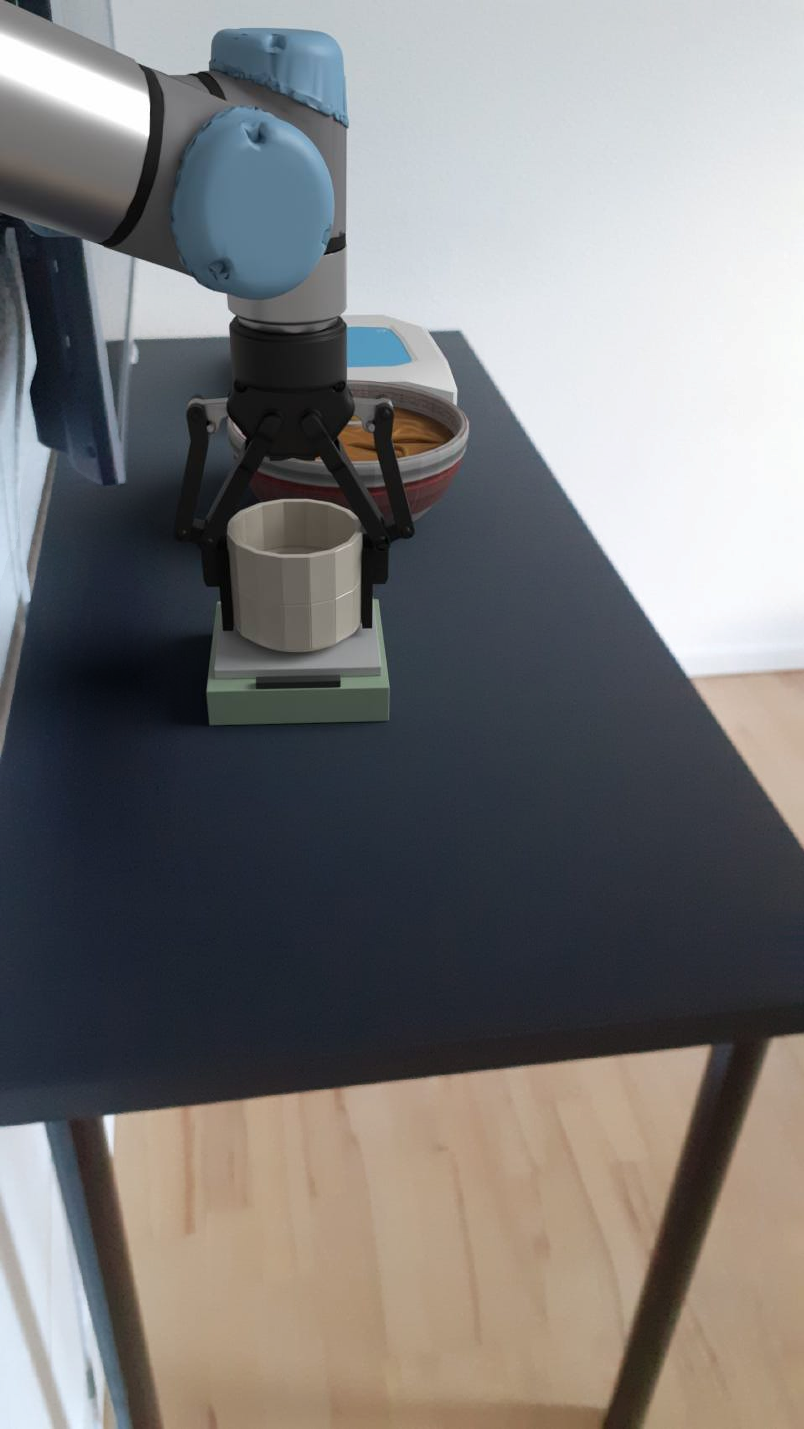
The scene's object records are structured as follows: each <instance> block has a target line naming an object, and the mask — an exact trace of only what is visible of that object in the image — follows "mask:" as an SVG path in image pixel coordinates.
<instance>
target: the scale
mask: <svg viewBox="0 0 804 1429" xmlns="http://www.w3.org/2000/svg"><path fill="white" fill-rule="evenodd" d="M380 610H381V609H380V602H379V599H378V598H373V617H372V628H371V629H362V622H361V624H360V625H359V627H358V628H357V629H356V631H355V632H354V634H352V635H350V636H348V637H347V638H345V639H343V640H341V641H340V642H338V643H336V644H334V645H332V646H329V647H327V648H323V649H320V650H315V651H308V652H285V651H278V650H273V649H269V648H266V647H263V646H261V645H259V644H257V643H255V642H253V641H251V640H249V639H247V638H245V637H243V636H242V635H241V634H240V632H239V631H238V630H237V628H236V627H235V626H234V627H233V631H223V626H222V613H221V601H217V602H216V607H215V613H214V614H215V615H214V624H213V632H212V638H211V639H212V640H211V648H210V656H209V665H208V675H207V681H206V689H205V693H206V703H207V714H208V715H207V716H208V725H209V726H237V725H238V726H241V725H242V726H243V725H244V726H245V725H277V724H278V725H279V724H280V725H281V724H283V725H284V724H321V723H322V724H323V723H324V724H325V723H326V724H327V723H361V722H362V723H364V722H365V723H366V722H389V720H390V694H391V693H390V689H391V688H390V687H391V686H390V680H389V671H388V664H387V657H386V648H385V641H384V634H383V633H384V632H383V624H382V617H381V611H380Z"/></svg>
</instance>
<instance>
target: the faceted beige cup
mask: <svg viewBox="0 0 804 1429" xmlns="http://www.w3.org/2000/svg"><path fill="white" fill-rule="evenodd" d="M225 535H227V548H228V560H229V574H230V588H231V601H232V615H233V624H234V626H235V627H236V628H237V630H238V631H239V632H240V634H241V635H242V636H243V637H245V638H247V639H249V640H251V641H253V642H255V643H257V644H259V645H261V646H263V647H266V648H269V649H273V650H278V651H285V652H308V651H315V650H320V649H323V648H327V647H329V646H332V645H334V644H336V643H338V642H340V641H341V640H343V639H345V638H347V637H348V636H350V635H352V634H354V632H355V631H356V629H357V628H358V627H359V625H360V624H361V622H362V549H363V530H362V524H361V522H360V520H359V519H358V517H357V516H356V515H355V514H354V513H353V512H352V511H351V510H348V509H346V508H343V507H341V506H338V505H336V504H333V503H330V502H324V501H318V500H311V499H280V500H274V501H269V502H263V503H262V502H258V503H255V504H254V505H250V506H248V507H245V508H244V509H241V510H238V512H237V513H236V514H234V515H233V516H232V517H231V519H230V521H229V523H228V525H227V526H226V534H225Z"/></svg>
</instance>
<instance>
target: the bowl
mask: <svg viewBox="0 0 804 1429" xmlns="http://www.w3.org/2000/svg"><path fill="white" fill-rule="evenodd" d="M347 385H348V388H349V390H350V392H351V393H352V395H353V397H355V398H367V399H375V398H376V397H377V396H378V395H380V394H385V395H388V396H389V397H390V399H391V402H392V406H393V411H394V421H393V430H392V441H393V445H394V449H395V453H396V457H397V460H398V464H399V468H400V472H401V476H402V480H403V484H404V488H405V492H406V495H407V499H408V503H409V507H410V511H411V515H412V520H413V522H415V521H417V520H418V519H420V518H422V517H423V516H424V515H425V514H426V513H427V512H428V511H429V510H430V509H431V508H432V507H433V506H434V505H435V504H436V503H437V502H438V501H439V500H441V498H443V496H444V494H445V492H447V490H448V489H449V487H450V485H451V484H452V482H453V481H454V480H455V477H456V475H457V474H458V471H459V469H460V466H461V464H462V462H463V456H464V455H465V453H466V451H467V445H468V440H469V433H470V421H469V419H468V418H467V416H466V414H465V412H464V411H463V410H461V408H459V407H458V405H457V406H456V405H455V404H453V403H451V402H450V401H448V400H446V399H444V398H443V397H440V396H438V395H435V394H432V393H430V392H427V391H424V390H420V389H416V388H413V387H409V386H403V385H398V384H392V383H385V382H376V381H365V380H347ZM226 429H227V436H228V441H229V448H230V450H231V451H232V454H233V458H234V461H235V460H236V459H237V457H238V455H239V453H240V450H241V447H242V445H243V443H244V441H245V439H246V437H245V436H244V435H243V433H242V432H241V431H240V430H239V429H238V427H237V426H236V425H235V424H234V422H233V421H232V420H231V419H230V417H226ZM338 438H339V439H340V441H341V443H342V445H343V447H344V450H345V452H346V454H347V455H348V457H349V459H350V461H351V462H352V464H353V466H354V467H355V469H356V471H357V473H358V474H359V476H360V478H361V480H362V481H363V483H364V485H365V486H366V488H367V490H368V492H369V493H370V495H371V497H372V498H373V500H374V502H375V504H376V505H377V507H378V509H379V511H380V512H381V514H382V516H383V517H384V519H385V518H388V517H391V516H393V513H392V509H391V505H390V501H389V498H388V494H387V490H386V486H385V483H384V479H383V475H382V472H381V468H380V464H379V460H378V457H377V453H376V449H375V443H374V437H373V433H368V432H366V431H365V430H364V429H363V427H362V422H361V420H360V419H359V418H357V417H355V416H353V417H352V418H351V420H350V421H349V422H348V424H347V425H346V426H345V428H344V429H343V430H342V432H341V433H340V435H339V436H338ZM248 487H249V488H250V490H251V491H252V493H253V494H254V496H255V497H256V498H257V499H258V500H259V501H260V503H263V502H269V501H274V500H280V499H311V500H318V501H324V502H330V503H333V504H336V505H338V506H341V507H343V508H346V509H348V510H351V511H352V512H353V513H354V514H355V512H354V510H353V509H352V507H351V505H350V504H349V502H348V500H347V499H346V497H345V495H344V494H343V492H342V490H341V489H340V487H339V485H338V484H337V482H336V480H335V479H334V477H333V475H332V474H331V473H330V472H329V471H328V469H327V468H326V466H325V464H324V463H323V461H322V459H321V458H320V457H317V458H315V461H303V460H299V459H295V458H290V459H286V460H283V461H270V458H267V457H264V459H263V461H262V463H261V465H260V467H259V468H258V470H257V472H256V473H255V474H254V475H253V477H252V479H251V481H250V483H249V485H248ZM355 515H356V514H355ZM356 516H357V515H356ZM362 530H363V533H367V532H366V530H365V529H364V527H363V525H362Z"/></svg>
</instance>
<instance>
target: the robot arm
mask: <svg viewBox="0 0 804 1429" xmlns="http://www.w3.org/2000/svg"><path fill="white" fill-rule="evenodd" d="M346 79H347V78H346V75H345V65H344V54H343V51H342V48H341V46H340V44H339V42H338V41H337V40H336V39H335V38H334V37H333V36H331V35H330V34H328V33H326V32H323V31H318V30H312V29H302V28H284V27H282V28H279V27H241V28H224V29H220V30H219V31H217V32H215V34H214V36H213V37H212V39H211V44H210V60H209V62H208V70H201V71H198V72H195V73H194V72H193V73H192V72H191V73H187V74H166V73H165V72H163V71H161V70H157V69H155V68H151V67H149V66H146V65H143V64H141V63H139V62H137V61H136V60H135V59H134V58H133V57H130V56H128V55H126V54H123V53H121V52H119V51H117V50H115V49H113V48H111V47H109V46H106V45H104V44H102V43H100V42H97V41H95V40H93V39H90V38H88V37H87V36H84V35H81V34H79V33H78V32H75V31H73V30H71V29H68V28H67V27H64V26H62V25H60V24H57V23H55V22H53V21H51V20H49V19H46V18H44V17H42V16H40V15H37V14H36V13H33V12H31V11H29V10H26V9H25V8H22V7H20V6H18V5H15V4H14V3H11V2H9V1H6V0H0V213H1V214H4V215H7V216H10V217H14V218H17V219H20V220H22V221H23V222H24V223H25V225H26V226H27V227H28V228H29V230H31V231H32V232H33V233H35V234H36V235H38V236H40V237H44V238H68V237H69V238H70V237H71V238H72V237H75V238H77V239H80V240H84V241H87V242H91V243H94V244H97V245H99V246H102V247H103V248H105V249H109V250H111V251H114V252H117V253H120V254H123V255H126V256H128V257H129V256H130V257H132V258H135V259H137V260H141V261H144V262H148V263H151V264H154V265H157V266H160V267H163V268H167V269H168V270H172V271H174V272H178V273H181V274H183V275H186V276H189V277H191V278H193V279H194V280H195V281H196V282H197V284H198V285H200V286H202V287H204V288H206V289H208V290H210V291H212V292H216V293H221V294H225V295H226V301H227V302H226V303H227V310H229V311H230V312H231V313H232V314H233V315H235V316H234V317H233V318H232V319H231V321H230V322H229V324H228V330H229V347H230V363H231V380H232V385H231V389H230V391H229V393H228V395H227V397H219V398H208V399H207V398H206V397H204V395H202V394H198V393H197V394H193V395H192V396H190V398H189V400H188V405H187V408H186V412H185V414H186V415H185V417H186V424H187V428H188V434H189V439H190V443H189V448H188V453H187V457H186V463H185V466H184V474H183V479H182V483H181V489H180V493H179V499H178V504H177V509H176V515H175V521H174V523H173V524H174V525H173V529H172V536H173V539H174V540H175V541H177V542H179V543H185V542H190V543H193V544H194V545H196V546H198V548H199V549H200V555H201V566H202V578H203V582H204V585H205V586H206V588H219V599H220V600H219V601H220V602H221V613H222V626H223V631H233V627H234V624H233V615H232V601H231V588H230V574H229V560H228V548H227V534H224V532H225V530H226V529H227V525H228V523H229V521H230V519H231V518H232V517H233V516H234V513H235V511H236V509H237V507H238V506H239V503H241V500H242V498H243V496H244V494H245V492H246V490H247V489H248V487H249V483H250V481H251V479H252V477H253V475H254V474H255V473H256V472H257V470H258V468H259V467H260V465H261V463H262V461H263V459H264V457H267V458H270V461H283V460H286V459H290V458H295V459H299V460H303V461H315V458H317V457H320V458H321V459H322V461H323V463H324V464H325V466H326V468H327V469H328V471H329V472H330V473H331V474H332V475H333V477H334V479H335V480H336V482H337V484H338V485H339V487H340V489H341V490H342V492H343V494H344V495H345V497H346V499H347V500H348V502H349V504H350V505H351V507H352V509H353V510H354V512H355V514H356V515H357V517H358V519H359V520H360V522H361V524H362V525H363V527H364V529H365V530H366V532H367V533H363V549H362V629H371V628H372V617H373V599H374V585H386V584H387V582H388V579H389V551H390V548H391V544H392V543H393V542H395V541H397V540H400V539H403V540H409V539H411V538H413V537H414V535H415V526H414V521H413V520H412V515H411V511H410V507H409V503H408V499H407V495H406V492H405V488H404V484H403V480H402V476H401V472H400V468H399V464H398V460H397V457H396V453H395V449H394V445H393V441H392V430H393V421H394V411H393V406H392V402H391V399H390V397H389V396H388V395H385V394H380V395H378V396H377V397H376V398H375V399H367V398H355V397H353V395H352V393H351V392H350V390H349V388H348V385H347V324H346V323H345V322H344V321H343V319H342V318H341V317H340V315H343V314H344V313H345V312H346V310H347V309H348V244H347V234H346V233H347V166H348V165H347V163H348V162H347V158H348V157H347V154H348V152H347V151H348V150H347V148H348V145H347V144H348V141H347V140H348V134H347V133H348V132H347V131H348V129H349V128H350V120H349V116H348V102H347V101H348V100H347V82H346ZM353 416H355V417H357V418H359V419H360V420H361V422H362V427H363V429H364V430H365V431H366V432H368V433H373V437H374V443H375V449H376V453H377V457H378V460H379V464H380V468H381V472H382V475H383V479H384V483H385V486H386V490H387V494H388V498H389V501H390V505H391V509H392V513H393V516H391V517H388V518H385V519H384V517H383V516H382V514H381V512H380V511H379V509H378V507H377V505H376V504H375V502H374V500H373V498H372V497H371V495H370V493H369V492H368V490H367V488H366V486H365V485H364V483H363V481H362V480H361V478H360V476H359V474H358V473H357V471H356V469H355V467H354V466H353V464H352V462H351V461H350V459H349V457H348V455H347V454H346V452H345V450H344V447H343V445H342V443H341V441H340V439H339V438H338V436H339V435H340V433H341V432H342V430H343V429H344V428H345V426H346V425H347V424H348V422H349V421H350V420H351V418H352V417H353ZM228 417H230V419H231V420H232V421H233V422H234V424H235V425H236V426H237V427H238V429H239V430H240V431H241V432H242V433H243V435H244V436H245V437H246V439H245V441H244V443H243V445H242V447H241V450H240V453H239V455H238V457H237V459H236V460H235V459H234V462H233V464H232V466H231V469H230V470H229V472H228V474H227V476H226V478H225V480H224V481H223V484H222V486H221V488H220V489H219V491H218V493H217V495H216V497H215V499H214V501H213V503H212V505H211V506H210V509H209V511H208V513H207V515H206V517H205V518H204V519H200V518H196V517H195V514H196V509H197V504H198V500H199V495H200V490H201V485H202V480H203V475H204V471H205V466H206V461H207V455H208V449H209V445H210V440H211V439H210V438H211V435H214V434H216V433H218V432H219V430H220V429H221V422H222V421H223V420H224V419H225V418H228Z"/></svg>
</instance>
